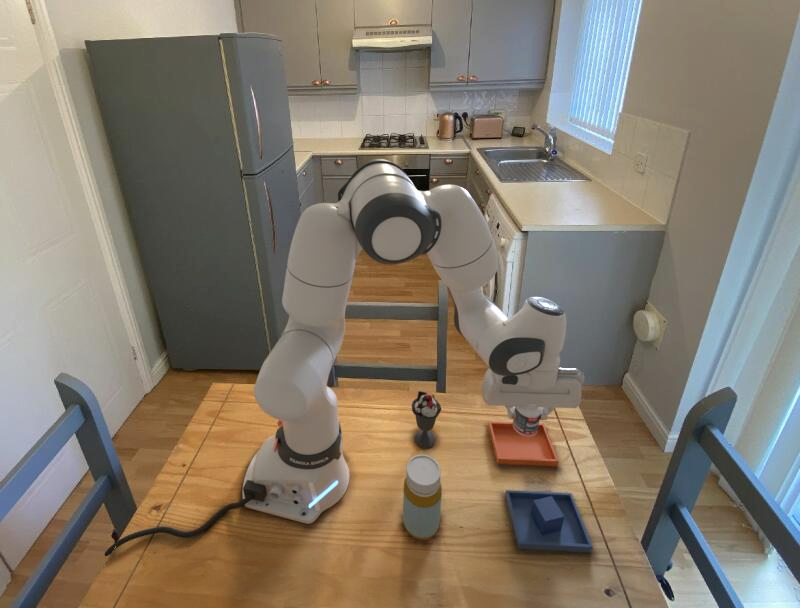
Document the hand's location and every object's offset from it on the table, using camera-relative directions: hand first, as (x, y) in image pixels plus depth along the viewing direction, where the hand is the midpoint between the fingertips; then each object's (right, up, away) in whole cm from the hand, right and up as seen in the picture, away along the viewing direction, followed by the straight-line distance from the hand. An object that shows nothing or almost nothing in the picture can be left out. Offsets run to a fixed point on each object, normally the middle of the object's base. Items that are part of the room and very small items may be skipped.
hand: (526, 417), depth 93 cm
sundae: (-22, -8, +6) cm, 24 cm away
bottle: (-25, -16, -11) cm, 31 cm away
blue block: (-1, -15, -12) cm, 19 cm away
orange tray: (0, -9, +4) cm, 9 cm away
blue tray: (-1, -15, -12) cm, 19 cm away
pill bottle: (0, -3, +1) cm, 3 cm away
